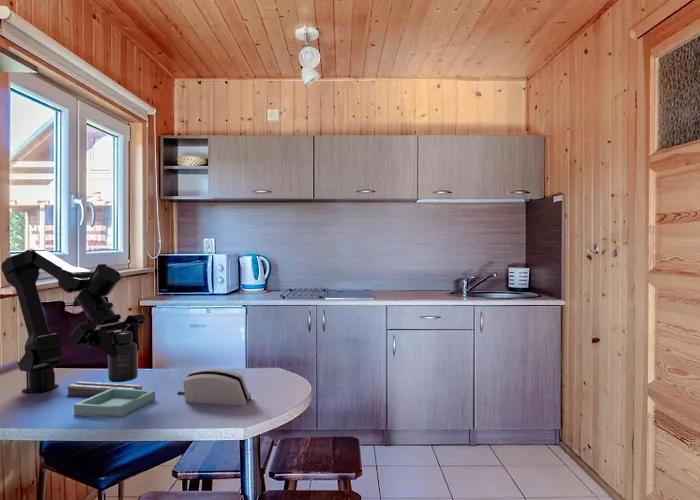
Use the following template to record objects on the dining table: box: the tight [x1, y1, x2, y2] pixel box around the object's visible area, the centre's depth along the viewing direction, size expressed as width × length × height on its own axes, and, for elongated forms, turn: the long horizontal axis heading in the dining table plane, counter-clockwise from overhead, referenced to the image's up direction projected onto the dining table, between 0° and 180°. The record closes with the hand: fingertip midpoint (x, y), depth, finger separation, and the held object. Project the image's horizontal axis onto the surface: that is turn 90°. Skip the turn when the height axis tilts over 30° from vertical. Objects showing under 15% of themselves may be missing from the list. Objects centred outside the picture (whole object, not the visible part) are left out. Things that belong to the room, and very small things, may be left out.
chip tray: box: [73, 389, 156, 419], centre depth 117 cm, size 13×13×2 cm
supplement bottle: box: [107, 330, 139, 383], centre depth 119 cm, size 7×7×12 cm
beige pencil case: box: [182, 368, 252, 406], centre depth 120 cm, size 17×5×10 cm, turn 79°
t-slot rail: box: [67, 381, 143, 398], centre depth 127 cm, size 20×4×3 cm, turn 78°
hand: (126, 353), depth 118 cm, fingers closed on supplement bottle, 7 cm apart
